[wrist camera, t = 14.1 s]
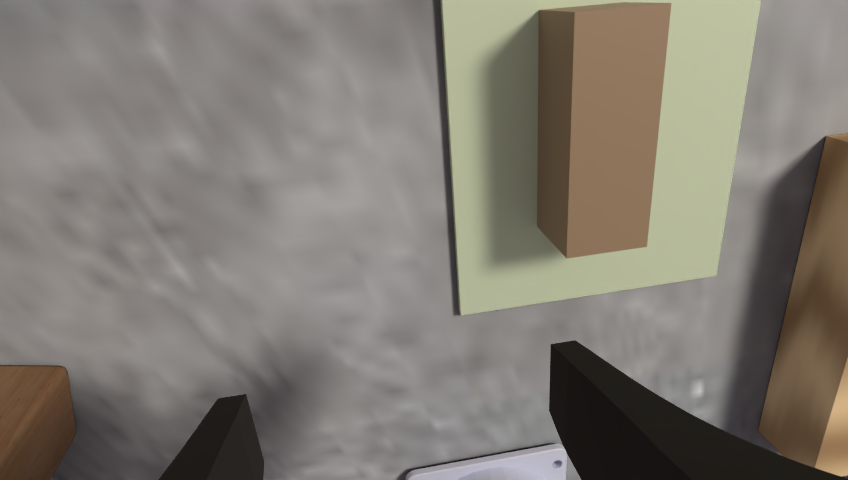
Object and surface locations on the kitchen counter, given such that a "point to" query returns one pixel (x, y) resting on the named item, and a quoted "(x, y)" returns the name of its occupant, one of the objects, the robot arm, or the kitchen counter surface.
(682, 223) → the lid
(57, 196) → the kitchen counter surface
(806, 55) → the kitchen counter surface
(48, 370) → the wooden block
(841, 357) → the wooden slab
